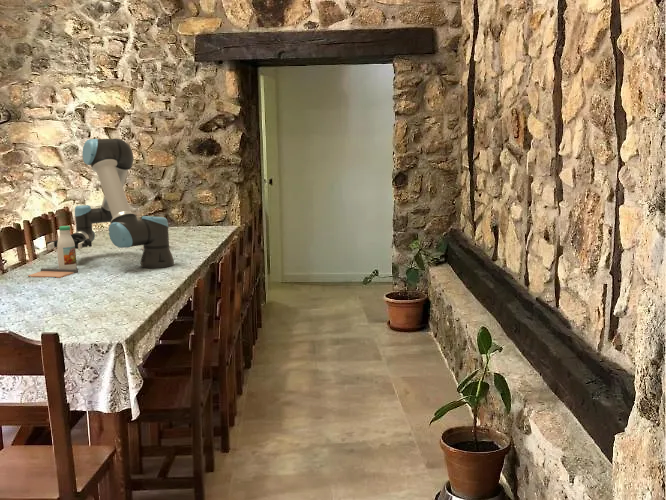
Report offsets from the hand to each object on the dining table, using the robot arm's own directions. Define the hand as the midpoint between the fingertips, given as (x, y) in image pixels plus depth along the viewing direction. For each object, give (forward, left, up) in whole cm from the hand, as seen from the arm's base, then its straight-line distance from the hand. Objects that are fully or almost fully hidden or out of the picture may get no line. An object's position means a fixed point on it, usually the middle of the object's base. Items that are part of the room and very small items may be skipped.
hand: (63, 246), depth 308 cm
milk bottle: (+1, -3, -11) cm, 12 cm away
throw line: (+1, +4, -11) cm, 12 cm away
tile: (+1, +10, -11) cm, 15 cm away
